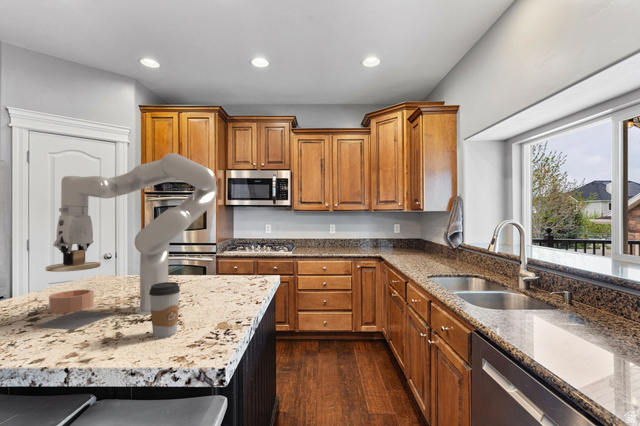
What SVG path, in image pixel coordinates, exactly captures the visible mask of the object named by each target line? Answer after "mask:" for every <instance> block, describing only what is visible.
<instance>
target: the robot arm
mask: <svg viewBox="0 0 640 426" xmlns="http://www.w3.org/2000/svg"><path fill="white" fill-rule="evenodd" d="M173 180H174V181H175V180H178V181H180V182H182V183H185V184H188V185H190V186H193V187H194V188H195V189H194V191H193V192H192V194H190V195H189V196H188V197H186V198H185V199H184V200H183V201H181V202H180V203H179V204H177V205H176V206H175V207H171V208H168V209H166V210H164V212H162V213H160V214H159V215H158V216H156V218H154V219H153V220H152V221H150V222H149V223H148V224H147V225H145V226H144V227H143V228H142V229H140V230H139V231H138V233H137V234H136V235H135V237H134V241H133V242H134V247H135V249H136V250H137V251H138V252H139V253H140V254H139V255H140V257H139V258H140V259H139V307H136V308H135V310H134V313H135V314H137V315H145V316H146V315H151V301H150V295H149V293H150V289H151V286H152V285H154V284H158V283H164V282H169V258H170V257H169V254H170V253H169V252H170V251H169V250H170V243H172V242H173V241H174V240H175V239H176V238H177V237H178V236H180V235H181V234H182V233H183V232H185V231H186V230H187V229H188V228H189V227H190V226H191V225H192V224H193V223H194V222H195V221H196V220H198V219H199V218H200V217H201V216H203V214H204V213H206V212H207V211H208V210H209V209H210V208H211V206H212V205H213V204H214V203H215V201H216V198H217V194H218V185H217V182H216V180H217V178H216V175H215V173H214V171H213V170H212V169H210V168H209V167H206V166H205V165H202V164H200V163H198V162H196V161H194V160H191V159H190V158H187V157H185V156H183V155H181V154H178V153H175V152H174V153H173V152H170V153H167V154H165V155H164V156H162V158H161V159H158V160H154V161H150V162H146V163H142V164H138V165H136V166H135V167H134V168H133V169H132V170H131V171H129V172H126V173H124V174H121V175H117V176H113V177H109V178H107V177H105V176H100V175H92V176H79V175H66V176H63V177H62V178H61V183H60V184H61V188H60V190H61V192H60V193H61V195H60V199H61V201H60V205H61V206H60V207H59V208H58V211H59V212H60V215H59V217H58V221H57V227H56V236H55V237H56V240H55V241H54V242H53V244H52V245H53V247H55V248H57V249H58V250H59V251H60V253H61V254H63V255H62V264H64V265H72V264H73V253H71V250H73V245H76V247H77V249H76V250H85V252H87V251H88V248H89V247H90V245H92V244H93V243H94V231H93V221H92V219H91V215H89V197H93V198H100V199H112V198H117V197H121V196H123V195H127V194H130V193H133V192H136V191H140V190H144V189H147V188H149V187H152V186H157V185H159V184H162V183H167V182H171V181H173ZM85 262H86V254H85V255H84V263H85Z"/></svg>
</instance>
